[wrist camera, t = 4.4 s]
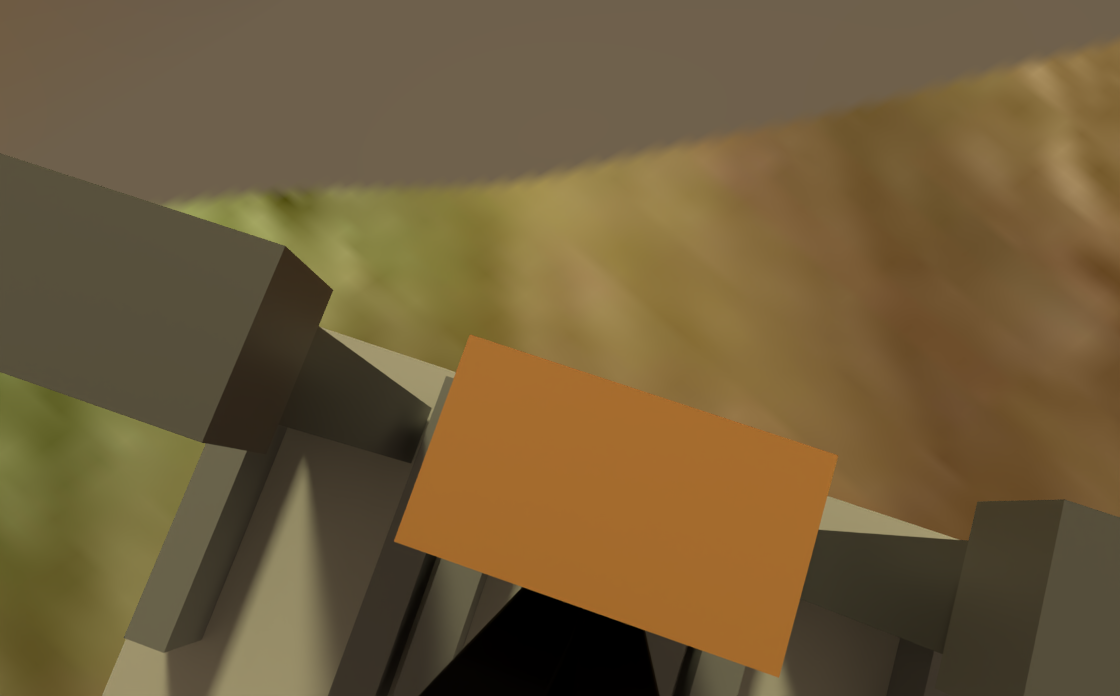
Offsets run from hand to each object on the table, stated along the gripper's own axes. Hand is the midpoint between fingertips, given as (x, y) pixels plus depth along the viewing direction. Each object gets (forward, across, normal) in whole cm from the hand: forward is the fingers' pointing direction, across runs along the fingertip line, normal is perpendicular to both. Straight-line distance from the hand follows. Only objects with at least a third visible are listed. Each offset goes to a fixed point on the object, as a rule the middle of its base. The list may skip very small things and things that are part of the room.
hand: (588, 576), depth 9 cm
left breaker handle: (+5, +5, +4) cm, 8 cm away
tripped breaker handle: (+5, 0, +4) cm, 7 cm away
